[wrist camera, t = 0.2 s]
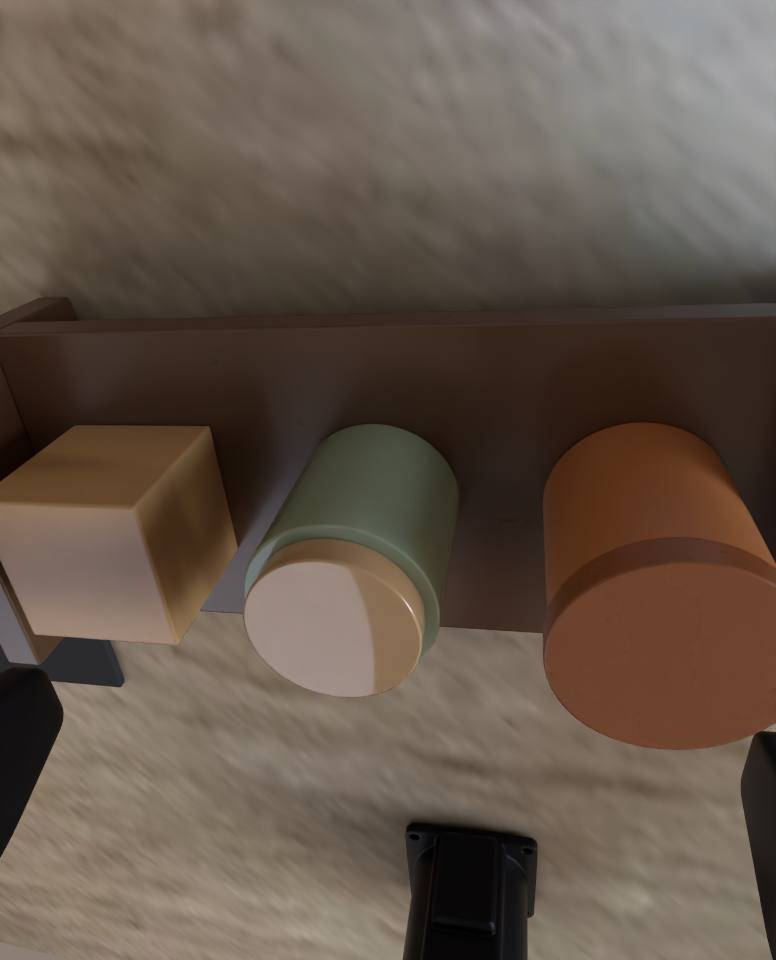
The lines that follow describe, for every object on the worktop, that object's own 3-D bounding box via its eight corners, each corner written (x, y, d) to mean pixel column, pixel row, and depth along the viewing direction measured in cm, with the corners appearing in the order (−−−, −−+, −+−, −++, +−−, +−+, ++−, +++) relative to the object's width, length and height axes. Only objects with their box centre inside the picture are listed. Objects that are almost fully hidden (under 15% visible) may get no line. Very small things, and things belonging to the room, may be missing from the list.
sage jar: (461, 561, 20) (439, 716, 15) (314, 555, 21) (249, 699, 16) (457, 423, 18) (430, 552, 13) (293, 422, 19) (209, 542, 14)
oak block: (239, 549, 21) (178, 646, 18) (115, 543, 22) (32, 635, 19) (210, 424, 19) (134, 506, 15) (74, 423, 20) (-29, 501, 16)
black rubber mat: (125, 681, 32) (120, 687, 32) (-35, 667, 34) (-41, 673, 34) (66, 527, 28) (60, 532, 27) (-115, 519, 30) (-123, 524, 29)
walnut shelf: (761, 567, 23) (843, 736, 17) (119, 539, 28) (8, 663, 22) (836, 270, 18) (989, 362, 12) (37, 297, 23) (-136, 373, 17)
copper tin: (717, 579, 19) (787, 762, 14) (535, 570, 20) (539, 739, 15) (751, 417, 16) (853, 568, 11) (542, 417, 17) (548, 555, 12)
